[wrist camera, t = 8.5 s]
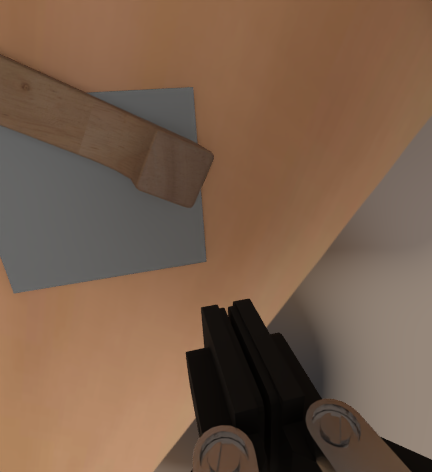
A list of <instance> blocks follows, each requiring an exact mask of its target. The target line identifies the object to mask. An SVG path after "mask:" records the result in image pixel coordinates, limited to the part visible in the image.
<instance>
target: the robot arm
mask: <svg viewBox="0 0 432 472" xmlns="http://www.w3.org/2000/svg"><path fill="white" fill-rule="evenodd" d="M201 314H202V325H203V337H204V348H203V349H198V350H193V351H188V352H186V360H187V368H188V375H189V382H190V388H191V394H192V400H193V405H194V411H195V416H196V421H197V427H198V432H199V439H198V441H197V443H196V445H195V447H194V452H193V469H192V471H191V472H432V460H431V459H429V458H427V457H424V456H422V455H420V454H418V453H415V452H413V451H411V450H409V449H407V448H404V447H402V446H399V445H398V444H395V443H393V442H391V441H389V440H386V439H384V438H382V437H380V436H378V434H377V433H376V432H375V431H374V430H373V428H372V427H371V426H370V425H369V424H368V423H367V422H366V421H365V419H364V418H363V417H362V416H361V415H360V414H359V413H358V412H357V411H356V410H355V409H354V408H352V407H351V406H349V405H347V404H346V403H344V402H342V401H338V400H335V399H322V398H321V397H320V395H319V394H318V392H317V390H316V389H315V387H314V385H313V384H312V382H311V381H310V379H309V377H308V376H307V374H306V373H305V371H304V369H303V368H302V366H301V365H300V363H299V361H298V360H297V358H296V356H295V355H294V353H293V351H292V350H291V348H290V347H289V345H288V343H287V342H286V340H285V339H284V337H283V336H282V334H280V333H275V334H269V332H268V330H267V328H266V326H265V325H264V323H263V321H262V319H261V318H260V316H259V314H258V312H257V311H256V309H255V307H254V305H253V304H252V302H251V300H250V299H244V300H239V301H234V302H233V306H230V307H228V315H227V313H226V311H225V308H219V307H218V305H212V306H206V307H201Z"/></svg>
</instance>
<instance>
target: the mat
mask: <svg viewBox="0 0 432 472" xmlns="http://www.w3.org/2000/svg"><path fill="white" fill-rule="evenodd" d="M87 94H90V95H92V96H94V97H96V98H98V99H101V100H103V101H105V102H107V103H110V104H112V105H114V106H116V107H118V108H121V109H123V110H125V111H127V112H130V113H132V114H134V115H136V116H138V117H141V118H143V119H145V120H147V121H150V122H152V123H154V124H156V125H158V126H161V127H163V128H165V129H167V130H169V131H172V132H174V133H176V134H178V135H181V136H183V137H185V138H187V139H189V140H192V141H193V142H195V143H197V133H196V120H195V107H194V94H193V87H187V88H168V89H149V90H129V91H110V92H91V93H87ZM0 257H1V259H2V262H3V265H4V268H5V270H6V273H7V276H8V279H9V281H10V284H11V287H12V289H13V292H14V293H19V292H25V291H31V290H37V289H43V288H50V287H56V286H62V285H68V284H74V283H80V282H86V281H92V280H98V279H104V278H110V277H116V276H122V275H128V274H134V273H140V272H147V271H153V270H159V269H165V268H171V267H177V266H183V265H189V264H195V263H201V262H206V249H205V236H204V223H203V210H202V197H201V190H200V192H199V195H198V197H197V199H196V202H195V204H194V205H193V206H192V208H186V207H183V206H181V205H178V204H175V203H172V202H170V201H167V200H164V199H161V198H159V197H156V196H153V195H150V194H148V193H145V192H142V191H139V190H138V189H137V188H136V187H135V185H134V184H133V182H132V181H131V179H129V178H128V177H126V176H124V175H123V174H121V173H119V172H117V171H116V170H114V169H111V168H109V167H107V166H104V165H102V164H100V163H98V162H95V161H93V160H91V159H88V158H85V157H83V156H80V155H77V154H75V153H72V152H69V151H67V150H64V149H61V148H59V147H56V146H54V145H51V144H48V143H46V142H43V141H40V140H38V139H35V138H32V137H30V136H27V135H25V134H22V133H19V132H17V131H14V130H11V129H9V128H6V127H3V126H1V125H0Z"/></svg>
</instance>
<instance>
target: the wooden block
mask: <svg viewBox="0 0 432 472" xmlns="http://www.w3.org/2000/svg"><path fill="white" fill-rule="evenodd" d="M0 125H1V126H3V127H6V128H9V129H11V130H14V131H17V132H19V133H22V134H25V135H27V136H30V137H32V138H35V139H38V140H40V141H43V142H46V143H48V144H51V145H54V146H56V147H59V148H61V149H64V150H67V151H69V152H72V153H75V154H77V155H80V156H83V157H85V158H88V159H91V160H93V161H95V162H98V163H100V164H102V165H104V166H107V167H109V168H111V169H114V170H116V171H117V172H119V173H121V174H123V175H124V176H126V177H128V178H129V179H131V181H132V182H133V184H134V185H135V187H136V188H137V189H138V190H139V191H142V192H145V193H148V194H150V195H153V196H156V197H159V198H161V199H164V200H167V201H170V202H172V203H175V204H178V205H181V206H183V207H186V208H192V206H193V205H194V204H195V202H196V199H197V197H198V195H199V192H200V190H201V187H202V185H203V183H204V180H205V178H206V176H207V173H208V171H209V169H210V166H211V164H212V162H213V159H214V155H213V153H212V152H211V151H209V150H207V149H205V148H204V147H202V146H200V145H199V144H197V143H195V142H193V141H192V140H189V139H187V138H185V137H183V136H181V135H178V134H176V133H174V132H172V131H169V130H167V129H165V128H163V127H161V126H158V125H156V124H154V123H152V122H150V121H147V120H145V119H143V118H141V117H138V116H136V115H134V114H132V113H130V112H127V111H125V110H123V109H121V108H118V107H116V106H114V105H112V104H110V103H107V102H105V101H103V100H101V99H98V98H96V97H94V96H92V95H90V94H87V93H85V92H83V91H81V90H79V89H76V88H74V87H72V86H70V85H67V84H65V83H63V82H61V81H59V80H56V79H54V78H52V77H50V76H47V75H45V74H43V73H41V72H39V71H36V70H34V69H32V68H30V67H27V66H25V65H23V64H21V63H19V62H16V61H14V60H12V59H10V58H8V57H5V56H3V55H1V54H0Z"/></svg>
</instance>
